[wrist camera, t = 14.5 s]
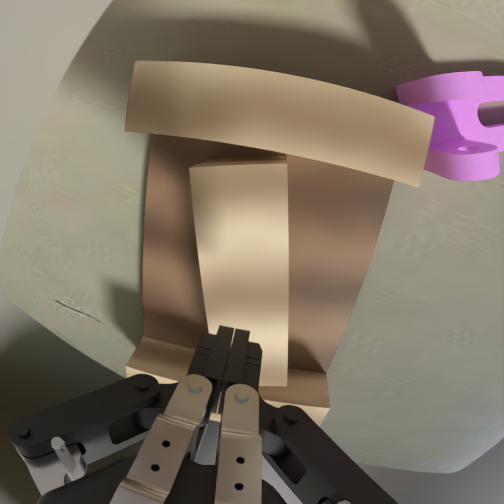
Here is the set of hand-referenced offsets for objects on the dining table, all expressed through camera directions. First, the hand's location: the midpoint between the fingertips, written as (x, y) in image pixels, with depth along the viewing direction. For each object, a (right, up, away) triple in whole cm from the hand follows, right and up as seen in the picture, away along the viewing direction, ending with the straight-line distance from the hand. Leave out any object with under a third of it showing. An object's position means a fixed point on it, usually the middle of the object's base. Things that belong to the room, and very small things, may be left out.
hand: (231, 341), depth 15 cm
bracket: (+17, +14, +2) cm, 23 cm away
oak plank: (+1, +3, +7) cm, 8 cm away
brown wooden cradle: (+1, +4, +8) cm, 9 cm away
